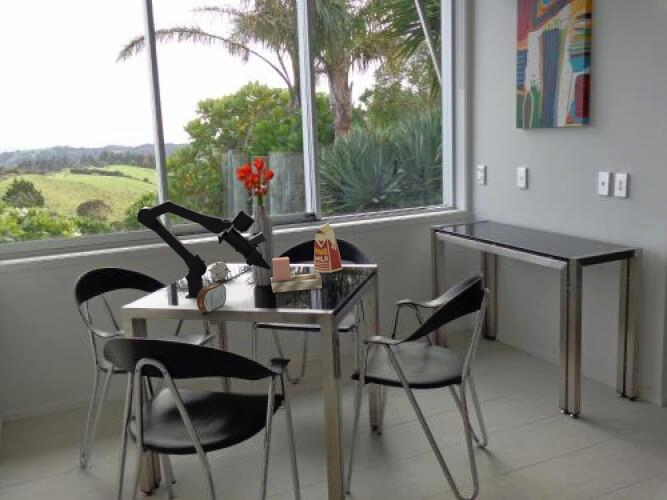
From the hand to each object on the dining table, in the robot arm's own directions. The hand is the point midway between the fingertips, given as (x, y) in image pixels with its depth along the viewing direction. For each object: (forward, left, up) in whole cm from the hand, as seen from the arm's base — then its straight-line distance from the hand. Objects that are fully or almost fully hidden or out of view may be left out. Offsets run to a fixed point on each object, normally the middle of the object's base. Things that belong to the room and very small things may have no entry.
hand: (270, 268), depth 247 cm
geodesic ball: (+17, +27, -8) cm, 33 cm away
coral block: (+1, -4, -7) cm, 8 cm away
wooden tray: (+3, -9, -8) cm, 12 cm away
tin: (-29, +13, -8) cm, 32 cm away
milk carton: (+31, -15, -8) cm, 36 cm away
